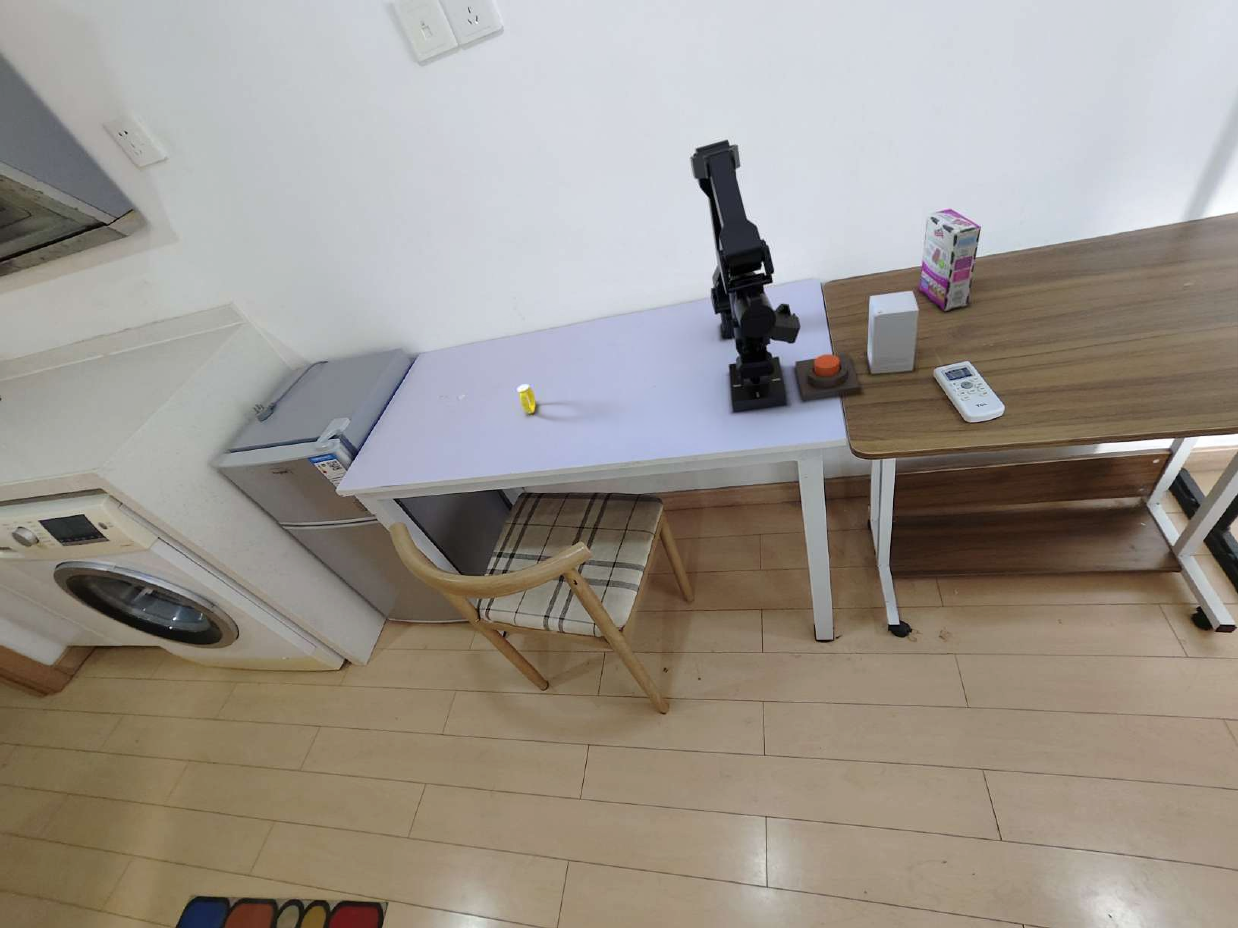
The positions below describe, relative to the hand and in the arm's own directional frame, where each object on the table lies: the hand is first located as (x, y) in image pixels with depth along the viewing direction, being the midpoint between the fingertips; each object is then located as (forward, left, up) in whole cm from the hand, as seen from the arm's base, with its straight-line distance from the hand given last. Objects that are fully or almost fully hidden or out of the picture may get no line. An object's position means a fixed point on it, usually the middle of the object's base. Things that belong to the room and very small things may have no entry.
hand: (756, 380), depth 112 cm
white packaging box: (-4, +25, -3) cm, 26 cm away
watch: (-6, -49, -3) cm, 49 cm away
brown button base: (-1, +13, -3) cm, 13 cm away
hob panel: (-2, 0, -3) cm, 3 cm away
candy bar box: (-24, +40, -3) cm, 47 cm away
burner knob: (0, 0, -1) cm, 1 cm away
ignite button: (0, +13, 0) cm, 13 cm away
